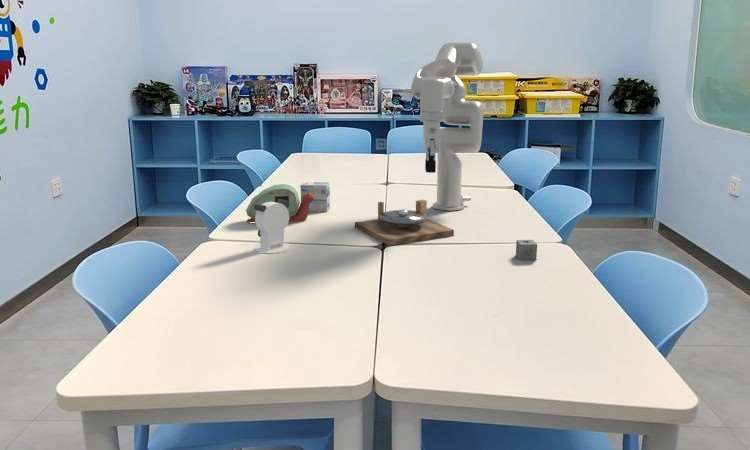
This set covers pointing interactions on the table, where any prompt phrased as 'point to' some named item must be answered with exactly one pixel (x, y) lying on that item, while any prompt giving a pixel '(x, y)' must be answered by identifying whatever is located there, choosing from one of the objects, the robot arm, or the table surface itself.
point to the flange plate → (403, 219)
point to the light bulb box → (317, 195)
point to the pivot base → (402, 230)
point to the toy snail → (285, 194)
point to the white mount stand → (272, 226)
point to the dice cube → (526, 249)
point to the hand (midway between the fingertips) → (430, 171)
